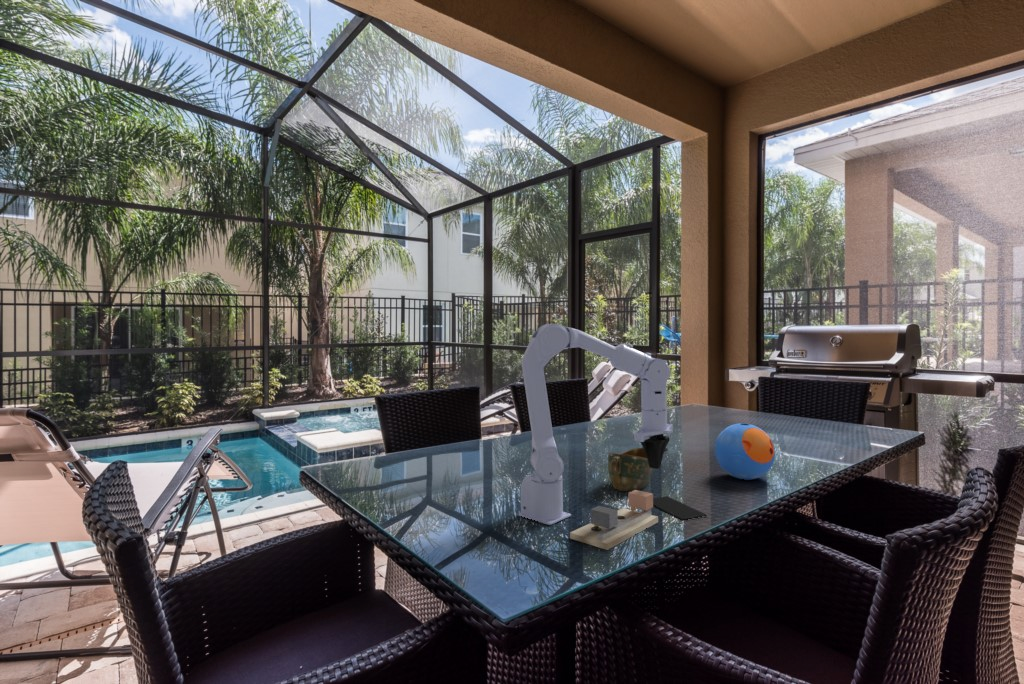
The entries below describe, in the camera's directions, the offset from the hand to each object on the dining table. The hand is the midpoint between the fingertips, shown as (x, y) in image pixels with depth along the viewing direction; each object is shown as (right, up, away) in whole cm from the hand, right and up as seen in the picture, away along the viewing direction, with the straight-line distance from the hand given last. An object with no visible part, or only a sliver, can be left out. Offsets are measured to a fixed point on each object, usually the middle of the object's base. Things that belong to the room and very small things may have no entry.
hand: (654, 467), depth 126 cm
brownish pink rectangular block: (-4, -9, -4) cm, 11 cm away
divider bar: (-9, -10, -13) cm, 18 cm away
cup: (-1, -10, +21) cm, 24 cm away
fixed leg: (-14, -9, -15) cm, 23 cm away
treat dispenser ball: (+32, -9, +26) cm, 42 cm away
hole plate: (-11, -11, -11) cm, 19 cm away
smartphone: (+5, -11, +2) cm, 12 cm away
